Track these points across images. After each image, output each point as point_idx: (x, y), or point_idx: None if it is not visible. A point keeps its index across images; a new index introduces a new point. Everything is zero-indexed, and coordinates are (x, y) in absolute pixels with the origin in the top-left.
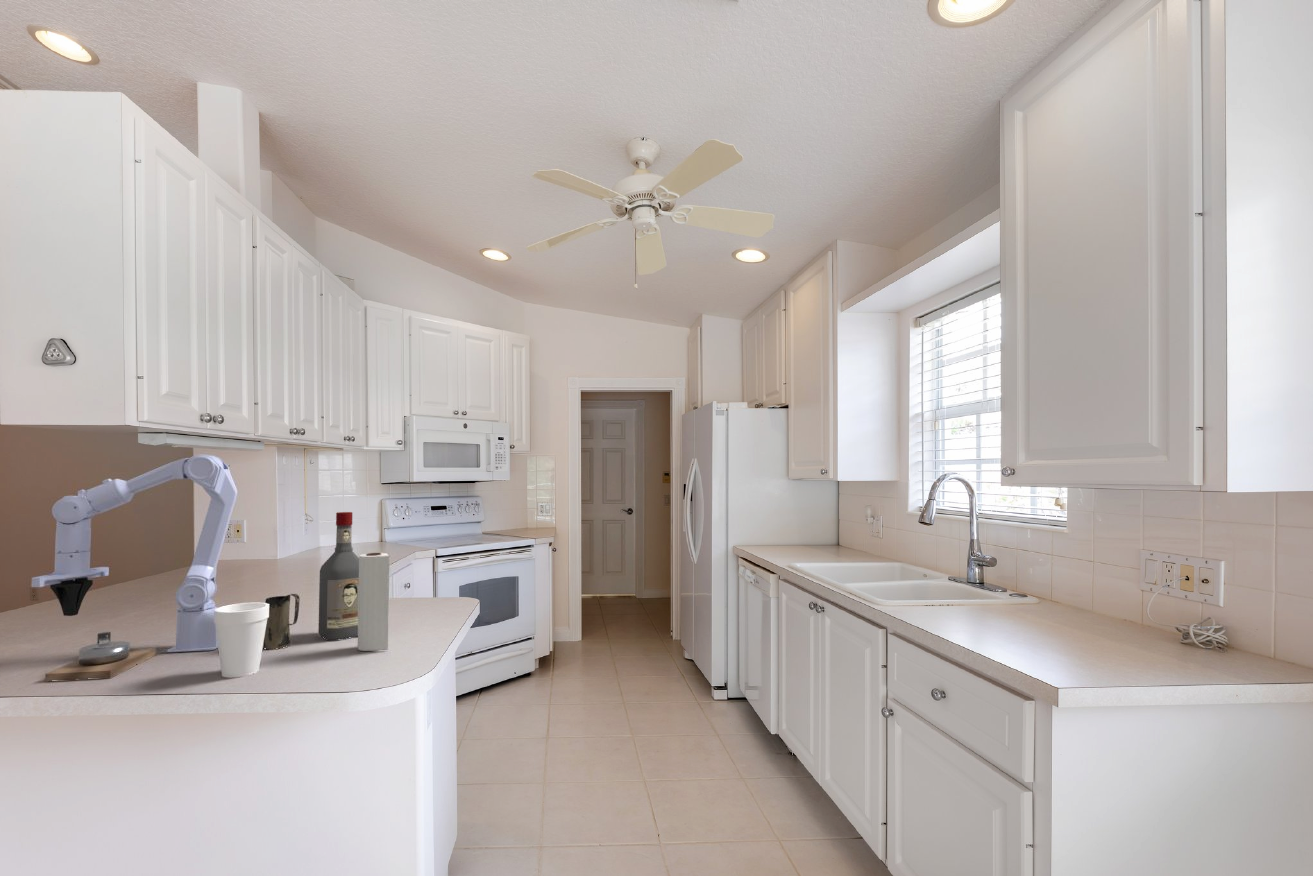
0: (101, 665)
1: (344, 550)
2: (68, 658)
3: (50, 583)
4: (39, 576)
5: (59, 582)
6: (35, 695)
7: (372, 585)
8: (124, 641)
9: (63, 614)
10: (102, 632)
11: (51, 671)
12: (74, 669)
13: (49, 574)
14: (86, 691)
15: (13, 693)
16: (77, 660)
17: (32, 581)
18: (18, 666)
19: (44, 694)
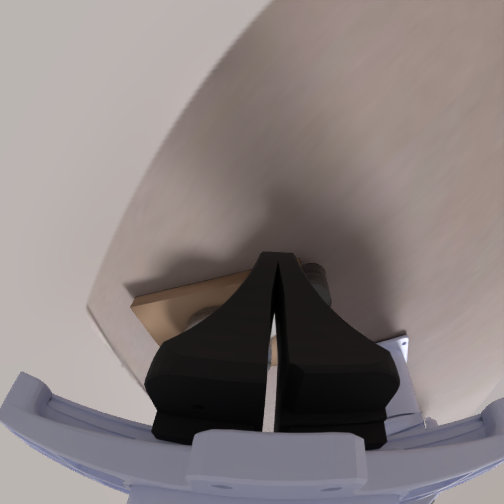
0: None
1: None
2: (289, 180)
3: (101, 427)
4: (26, 439)
5: (160, 440)
6: (103, 330)
7: None
8: (269, 365)
9: (259, 256)
10: (323, 293)
11: (142, 305)
12: (166, 331)
13: (95, 467)
14: (140, 369)
15: (90, 297)
16: (213, 291)
17: (9, 403)
18: (195, 117)
19: (110, 336)
